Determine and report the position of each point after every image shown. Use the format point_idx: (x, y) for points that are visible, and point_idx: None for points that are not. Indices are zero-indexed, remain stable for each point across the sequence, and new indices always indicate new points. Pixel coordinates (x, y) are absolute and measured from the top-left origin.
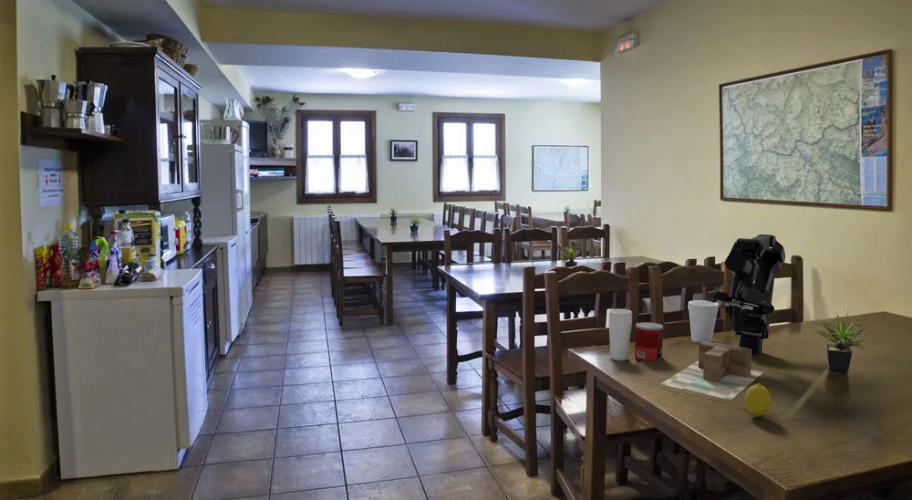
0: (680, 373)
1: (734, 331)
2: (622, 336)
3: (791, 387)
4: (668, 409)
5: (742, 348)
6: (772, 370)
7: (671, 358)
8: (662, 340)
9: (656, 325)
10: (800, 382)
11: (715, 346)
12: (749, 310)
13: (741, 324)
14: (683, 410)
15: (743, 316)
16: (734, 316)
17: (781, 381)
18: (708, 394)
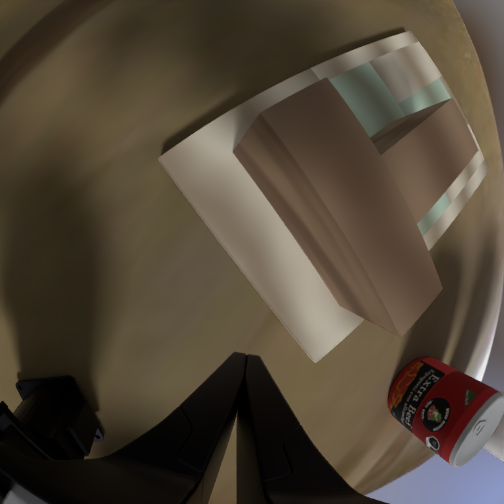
0: (441, 225)
1: (257, 358)
2: (501, 392)
3: (162, 43)
4: (483, 85)
5: (311, 140)
6: (74, 225)
7: (351, 409)
8: (442, 402)
9: (462, 447)
10: (89, 80)
11: (415, 226)
12: (79, 499)
13: (200, 386)
14: (470, 69)
15: (176, 457)
16: (318, 452)
17: (142, 95)
18: (438, 72)
